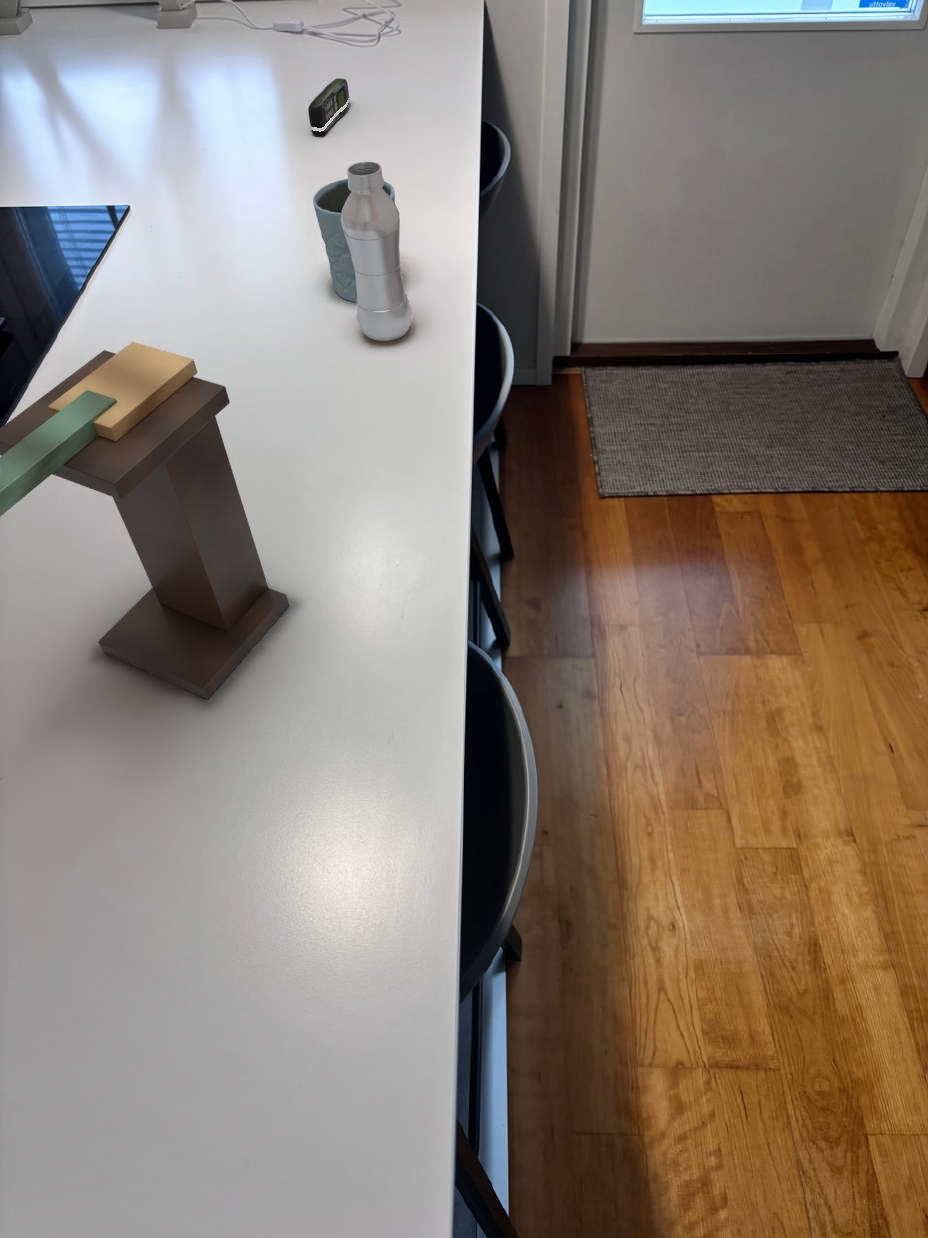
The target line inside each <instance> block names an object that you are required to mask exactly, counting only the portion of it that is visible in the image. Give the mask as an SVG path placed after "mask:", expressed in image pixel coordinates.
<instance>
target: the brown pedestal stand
mask: <svg viewBox="0 0 928 1238" xmlns="http://www.w3.org/2000/svg"><path fill="white" fill-rule="evenodd" d="M116 354H117V353H116V352H112V351H108V350H105V349H104V350H102V351H101V352H100V353H98V354H96V356H94V357H93V358H91V359H90V360H89V361H88V362H86V363H85V364H84V365H82V366H81V367H80V368H78V369H76V371H75V372H73V373H71V374H70V375H69V376H68V377H66V378H65V379H64V380H62V381H61V382H60V383H58V384H57V385H56V386H54V387H53V388H52V389H50V390H49V391H48V392H47V393H45V394H43V396H41V397H40V398H39V399H37V400H36V401H34V402H33V403H32V404H30V405H29V406H28V407H26V408H25V409H23V411H21V412H20V413H19V414H17V415H16V416H15V417H13V418H12V419H10V421H9V420H8V422H7V423H6V424H4V425H3V426H1V427H0V457H1V456H2V455H4V454H5V453H6V452H7V451H9V450H10V449H11V448H13V447H14V446H15V445H16V444H18V443H19V442H20V441H22V440H23V439H24V438H25V437H27V436H28V435H29V434H31V433H32V432H33V431H34V430H36V429H37V428H38V427H40V426H41V425H42V424H43V423H45V422H46V421H47V420H49V419H50V418H51V417H52V415H51V413H50V411H49V408H48V406H49V405H50V404H52V403H53V402H54V401H55V400H57V399H58V398H59V397H61V396H62V395H63V394H65V393H66V392H67V391H69V390H70V389H71V388H72V387H74V386H75V385H76V384H78V383H79V382H80V381H82V380H83V379H84V378H86V377H87V376H88V375H89V374H91V373H92V372H93V371H95V370H96V369H97V368H99V367H100V366H101V365H103V364H104V363H105V362H106V361H108V360H109V359H110V358H112V357H113V356H114V355H116ZM230 403H231V400H230V398H229V394H228V391H227V387H226V386H225V385H222V384H219V383H215V382H212V381H208V380H206V379H202V378H199V377H195V376H193V377H192V378H191V379H190V380H188V381H187V382H186V383H185V384H184V385H183V386H181V387H180V388H179V389H178V390H177V391H175V392H174V393H173V394H172V395H171V396H169V397H168V398H167V399H166V400H165V401H163V402H162V403H161V404H160V405H159V406H158V407H156V408H155V409H154V410H153V411H152V412H150V413H149V414H148V415H147V416H146V417H144V418H143V419H142V420H141V421H140V422H139V423H137V424H136V425H135V426H134V427H133V428H131V429H130V430H129V431H128V432H127V433H125V434H124V435H123V436H122V437H121V438H119V439H118V440H117V441H114V440H111V439H108V438H105V437H102V436H98V437H96V438H95V439H94V440H93V441H91V442H90V443H89V444H88V445H87V446H85V447H84V448H83V449H82V450H81V451H79V452H78V453H77V454H76V455H74V456H73V457H72V458H71V459H70V460H68V461H67V462H66V463H65V464H64V465H62V466H61V467H60V468H59V469H57V470H56V471H55V472H54V473H53V474H52V475H53V476H56V477H58V478H61V479H63V480H66V481H69V482H72V483H74V484H77V485H80V486H82V487H85V488H88V489H89V490H93V491H96V492H97V493H102V494H103V495H107V496H109V497H112V499H113V501H114V504H115V506H116V509H117V510H118V513H119V515H120V517H121V520H122V522H123V524H124V526H125V528H126V531H127V533H128V536H129V538H130V540H131V543H132V545H133V547H134V550H135V551H136V553H137V556H138V558H139V560H140V562H141V565H142V567H143V569H144V571H145V575H146V576H147V578H148V581H149V583H150V585H151V588H150V589H149V590H148V591H147V592H146V593H145V594H144V595H143V596H141V598H140V599H139V600H138V601H137V602H136V603H134V605H133V606H132V607H131V608H130V609H129V610H128V611H127V612H126V613H125V614H124V615H123V616H122V617H121V618H120V619H119V620H118V621H117V622H116V623H115V624H114V625H113V626H112V627H111V628H110V629H109V630H108V631H107V632H105V634H104V635H103V636H102V637H101V638H100V639H99V640H98V642H97V643H98V645H99V646H100V648H101V650H102V652H103V653H104V654H106V655H108V656H111V657H113V658H115V659H117V660H119V661H122V662H124V663H126V664H129V665H130V666H133V667H135V668H137V669H139V670H142V671H144V672H147V673H149V674H150V675H152V676H156V677H158V678H159V679H161V680H164V681H166V682H167V683H171V684H173V685H175V686H177V687H179V688H181V689H184V690H186V691H188V692H191V693H192V694H195V695H197V696H199V697H201V698H204V699H206V700H209V699H210V698H211V697H212V696H213V695H214V693H215V692H216V691H217V690H218V689H219V688H220V687H221V685H222V684H223V683H224V682H225V681H226V679H227V678H229V676H230V675H231V674H232V672H234V670H235V669H236V668H237V667H238V665H240V663H242V661H243V660H244V659H245V658H246V656H247V655H248V654H249V653H250V652H251V651H252V650H253V648H254V647H255V646H256V645H257V644H258V642H259V641H260V640H261V639H262V638H263V637H264V635H265V634H266V633H267V632H268V631H269V630H270V629H271V627H272V626H273V625H274V624H275V623H276V621H277V620H278V619H279V618H280V617H281V616H282V615H283V614H284V613H285V611H286V610H287V609H288V608H289V607H290V603H289V599H288V595H287V594H286V593H283V592H280V591H279V590H276V589H273V588H270V587H269V585H268V582H267V579H266V576H265V575H266V574H265V572H264V568H263V565H262V562H261V559H260V556H259V552H258V550H257V546H256V543H255V539H254V537H253V533H252V530H251V527H250V523H249V521H248V518H247V513H246V511H245V510H246V509H245V508H244V504H243V500H242V498H241V494H240V491H239V489H238V484H237V481H236V478H235V475H234V472H233V468H232V465H231V463H230V459H229V456H228V452H227V449H226V446H225V443H224V439H223V436H222V433H221V430H220V426H219V424H218V420H217V417H216V416H217V415H218V414H219V413H220V412H221V411H223V410H224V409H226V407H227V406H228V405H229V404H230Z"/></svg>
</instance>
